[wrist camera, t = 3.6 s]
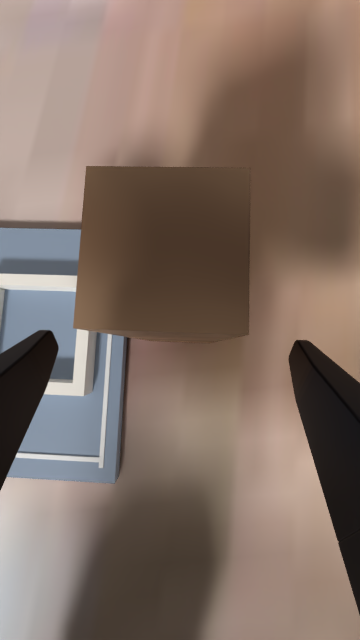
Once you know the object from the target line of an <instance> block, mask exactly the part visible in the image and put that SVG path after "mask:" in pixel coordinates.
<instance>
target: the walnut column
mask: <svg viewBox="0 0 360 640" xmlns="http://www.w3.org/2000/svg"><path fill="white" fill-rule="evenodd" d="M249 255H250V168H207V167H114V166H86V176H85V188H84V200H83V212H82V225H81V237H80V249H79V261H78V273H77V285H76V297H75V309H74V321H73V328H74V329H80V330H87V331H93V332H99V333H105V334H111V335H118V336H124V337H130V338H136V339H142V340H149V341H168V342H194V343H212V342H216V341H221V340H226V339H231V338H236V337H240V336H245V335H249Z"/></svg>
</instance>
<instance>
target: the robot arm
mask: <svg viewBox="0 0 360 640" xmlns="http://www.w3.org/2000/svg"><path fill="white" fill-rule="evenodd" d="M58 350H59V346H58V343H57V341H56V339H55V336H54V334H53V332H52V331H51V330H38V331H37V332H35V333H33V334H32V335H30V336H28V337H27V338H25V339H24V340H22V341H20V342H19V343H17V344H15V345H14V346H12V347H11V348H9V349H7V350H6V351H4V352H2V353H1V354H0V490H1V488H2V486H3V483H4V481H5V479H6V477H7V475H8V472H9V470H10V468H11V466H12V463H13V461H14V459H15V457H16V455H17V452H18V450H19V448H20V446H21V443H22V441H23V439H24V437H25V435H26V432H27V430H28V428H29V426H30V423H31V421H32V419H33V417H34V415H35V412H36V410H37V408H38V406H39V403H40V401H41V399H42V397H43V395H44V392H45V390H46V388H47V385H48V382H49V379H50V376H51V373H52V370H53V367H54V364H55V360H56V357H57V354H58ZM289 365H290V371H291V377H292V383H293V388H294V394H295V399H296V403H297V406H298V410H299V413H300V416H301V420H302V423H303V426H304V430H305V433H306V436H307V440H308V443H309V446H310V450H311V453H312V456H313V460H314V463H315V467H316V470H317V473H318V477H319V480H320V483H321V487H322V490H323V493H324V497H325V500H326V503H327V507H328V510H329V513H330V517H331V520H332V523H333V527H334V530H335V533H336V537H337V540H338V541H339V542H338V544H339V547H340V551H341V554H342V557H343V561H344V564H345V567H346V571H347V574H348V577H349V581H350V584H351V587H352V591H353V594H354V597H355V601H356V604H357V607H358V611H359V614H360V383H359V382H358V381H356V380H355V379H354V378H353V377H352V376H350V375H349V374H348V373H347V372H346V371H344V370H343V369H342V368H341V367H340V366H338V365H337V364H336V363H335V362H334V361H332V360H331V359H330V358H329V357H328V356H326V355H325V354H324V353H323V352H322V351H320V350H319V349H318V348H317V347H316V346H314V345H313V344H312V343H311V342H309V341H307V340H296V341H295V342H294V345H293V347H292V350H291V352H290V355H289Z"/></svg>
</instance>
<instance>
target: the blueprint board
mask: <svg viewBox="0 0 360 640" xmlns="http://www.w3.org/2000/svg"><path fill="white" fill-rule="evenodd" d="M80 237H81V230H77V229H30V228H0V354H1V353H2V352H4V351H6V350H7V349H9V348H11V347H12V346H14V345H15V344H17V343H19V342H20V341H22V340H24V339H25V338H27V337H28V336H30V335H32V334H33V333H35V332H37V331H38V330H51V331H52V332H53V334H54V336H55V339H56V341H57V343H58V346H59V350H58V354H57V357H56V360H55V364H54V367H53V370H52V373H51V376H50V379H49V382H48V385H47V388H46V390H45V392H44V395H43V397H42V399H41V401H40V403H39V406H38V408H37V410H36V412H35V415H34V417H33V419H32V421H31V423H30V426H29V428H28V430H27V432H26V435H25V437H24V439H23V441H22V443H21V446H20V448H19V450H18V452H17V455H16V457H15V459H14V461H13V463H12V466H11V468H10V470H9V472H8V475H7V477H15V478H32V479H48V480H64V481H80V482H97V483H113V484H115V482H116V480H117V479H118V477H119V464H120V447H121V431H122V414H123V398H124V381H125V364H126V348H127V337H124V336H118V335H111V334H105V333H99V332H93V331H87V330H80V329H74V328H73V321H74V309H75V297H76V285H77V273H78V261H79V249H80Z"/></svg>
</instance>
